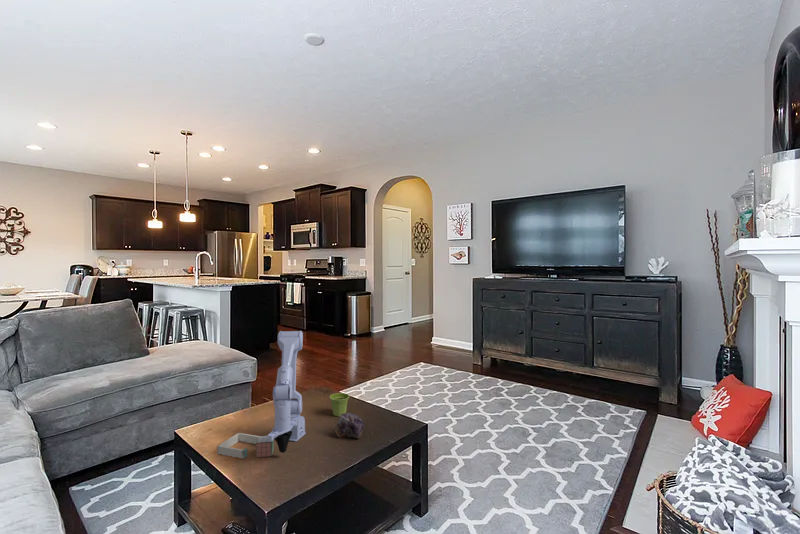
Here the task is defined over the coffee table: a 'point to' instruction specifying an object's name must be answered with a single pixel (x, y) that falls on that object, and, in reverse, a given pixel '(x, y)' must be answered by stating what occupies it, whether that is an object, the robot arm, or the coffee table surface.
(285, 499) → the coffee table surface
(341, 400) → the plant pot
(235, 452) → the white frame
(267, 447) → the puzzle toy
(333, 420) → the coffee table surface
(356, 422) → the rock
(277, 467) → the coffee table surface
